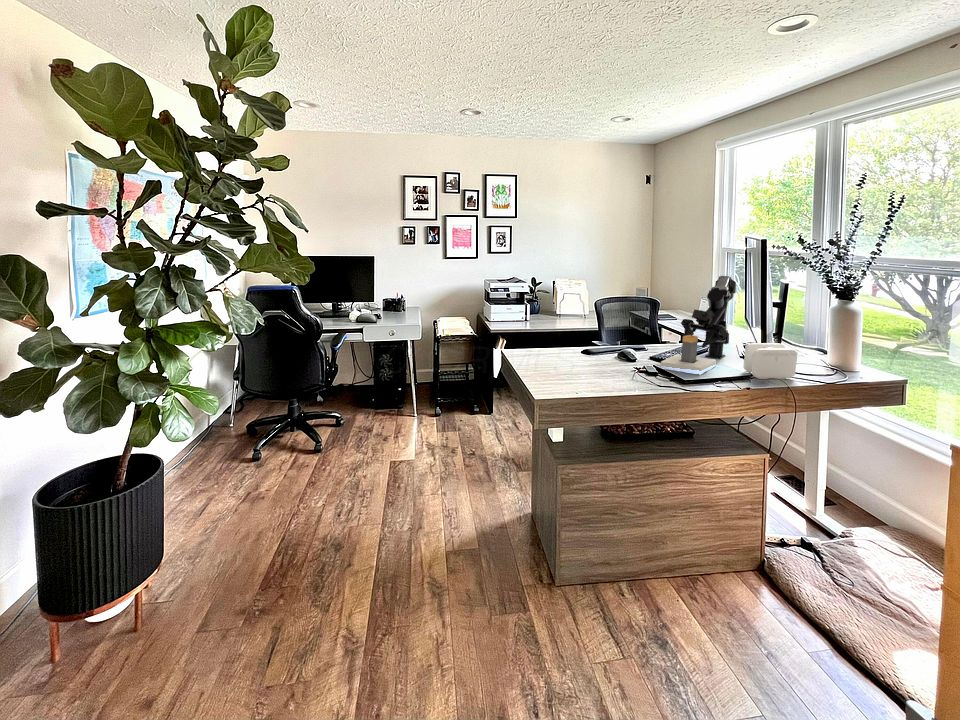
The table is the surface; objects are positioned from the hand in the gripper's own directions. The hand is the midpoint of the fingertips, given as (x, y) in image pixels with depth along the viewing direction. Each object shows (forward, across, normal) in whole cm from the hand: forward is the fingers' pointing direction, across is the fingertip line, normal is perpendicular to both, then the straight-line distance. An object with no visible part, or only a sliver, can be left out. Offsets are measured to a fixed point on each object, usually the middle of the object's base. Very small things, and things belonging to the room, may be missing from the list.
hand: (692, 344), depth 224 cm
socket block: (+8, 0, +5) cm, 9 cm away
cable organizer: (-2, +25, +16) cm, 30 cm away
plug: (+8, 0, +5) cm, 9 cm away
